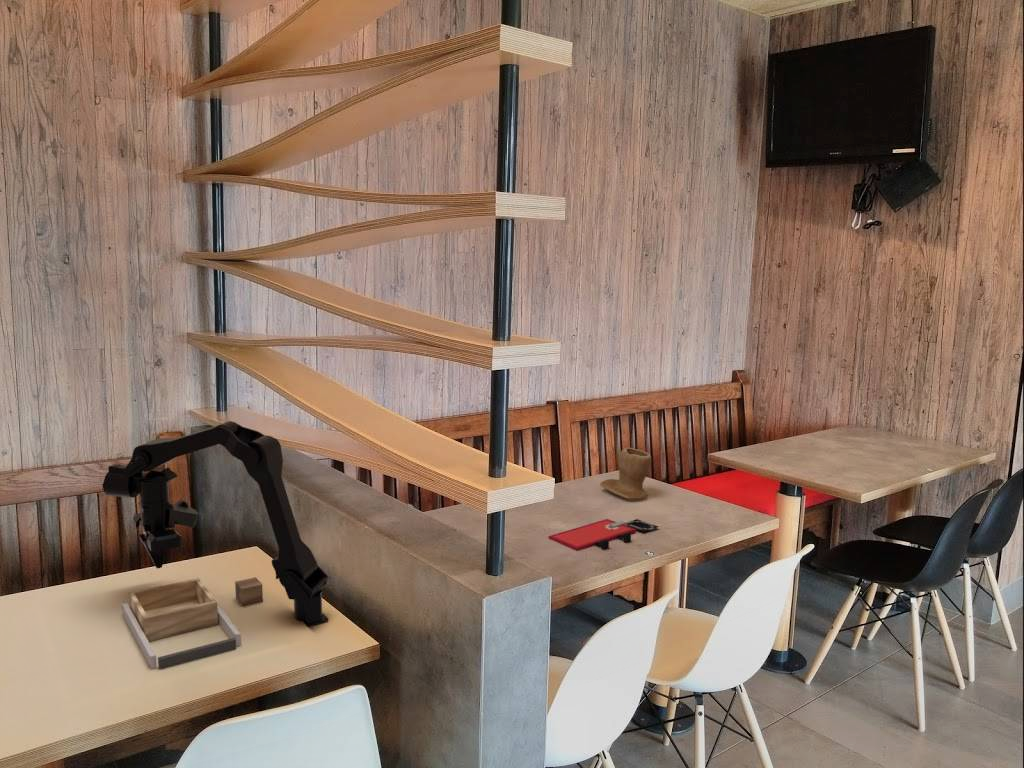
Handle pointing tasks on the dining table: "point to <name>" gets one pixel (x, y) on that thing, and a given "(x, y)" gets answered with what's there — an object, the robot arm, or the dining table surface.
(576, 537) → the red board with handle
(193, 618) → the crate
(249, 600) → the block
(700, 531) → the dining table surface
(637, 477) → the brown boot
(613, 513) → the dining table surface
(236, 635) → the bay
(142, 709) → the dining table surface
